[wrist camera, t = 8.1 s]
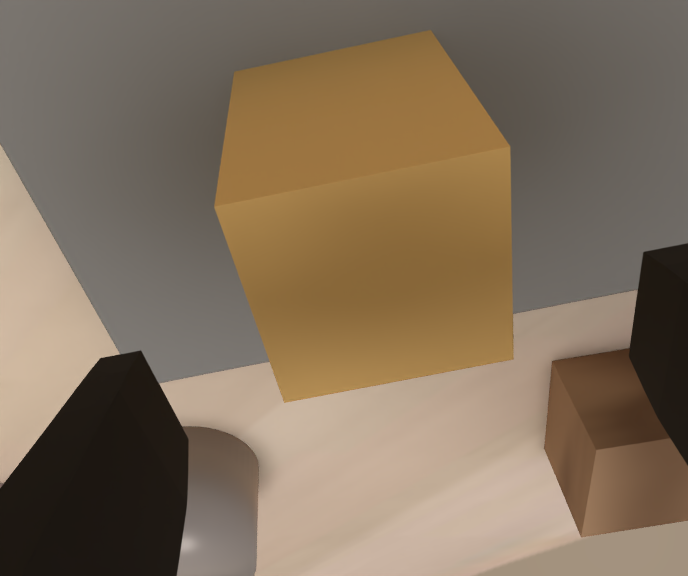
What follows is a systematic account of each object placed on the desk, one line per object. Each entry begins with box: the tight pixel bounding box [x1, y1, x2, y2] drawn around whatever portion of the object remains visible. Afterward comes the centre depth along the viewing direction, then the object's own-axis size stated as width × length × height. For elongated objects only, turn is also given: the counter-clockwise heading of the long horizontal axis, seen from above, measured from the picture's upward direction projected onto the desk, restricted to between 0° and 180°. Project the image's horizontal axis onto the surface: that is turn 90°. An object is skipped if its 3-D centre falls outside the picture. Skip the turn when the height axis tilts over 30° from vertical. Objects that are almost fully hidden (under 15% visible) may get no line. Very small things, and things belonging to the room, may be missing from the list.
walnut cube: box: [544, 348, 688, 537], centre depth 22 cm, size 5×5×4 cm
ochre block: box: [214, 30, 513, 403], centre depth 13 cm, size 4×4×6 cm
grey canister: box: [177, 427, 259, 576], centre depth 23 cm, size 5×5×4 cm
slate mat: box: [0, 0, 688, 383], centre depth 16 cm, size 18×14×1 cm
